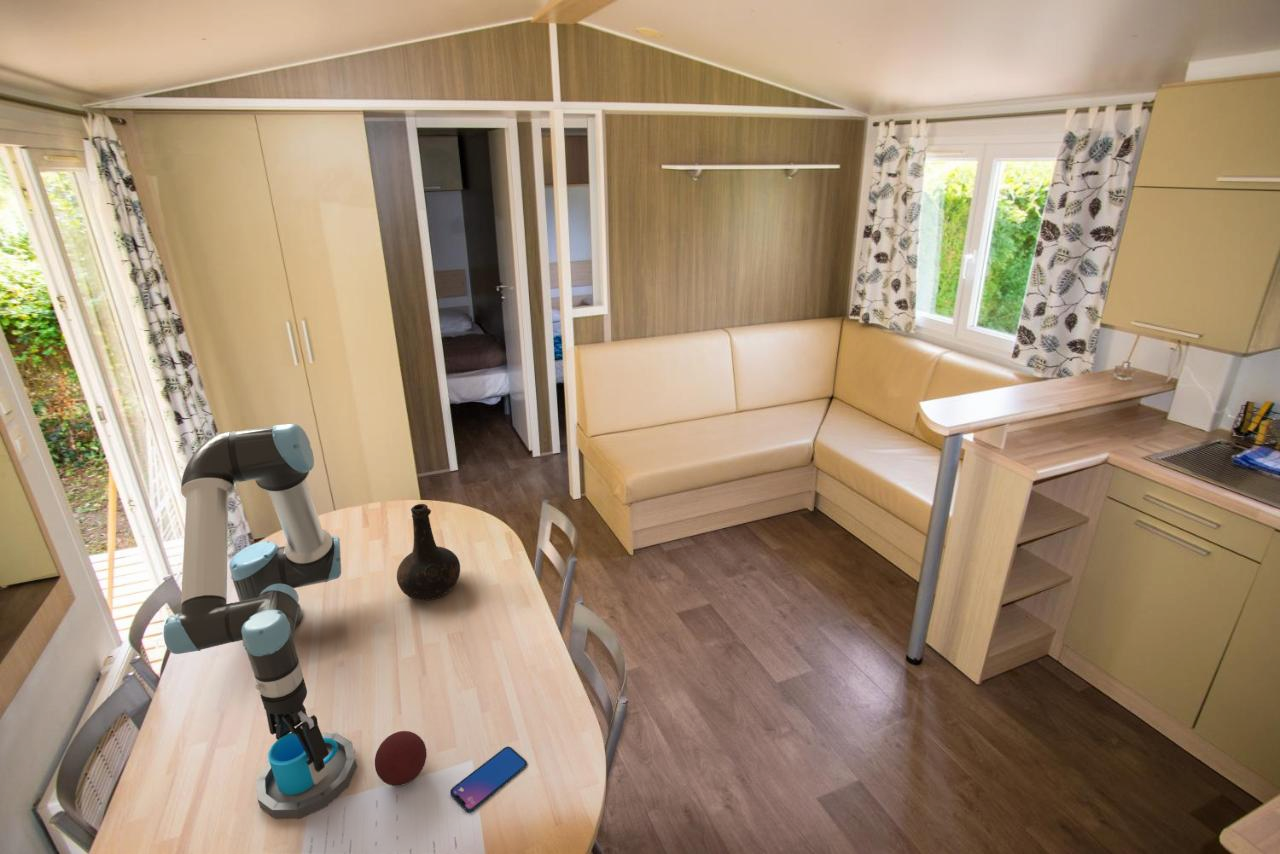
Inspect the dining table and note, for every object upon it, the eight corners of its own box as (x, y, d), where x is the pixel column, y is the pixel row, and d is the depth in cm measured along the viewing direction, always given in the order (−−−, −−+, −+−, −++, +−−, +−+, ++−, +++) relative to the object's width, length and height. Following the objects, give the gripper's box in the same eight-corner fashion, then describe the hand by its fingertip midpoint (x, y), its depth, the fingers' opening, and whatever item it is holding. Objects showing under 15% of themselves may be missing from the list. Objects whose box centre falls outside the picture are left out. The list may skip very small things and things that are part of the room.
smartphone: (529, 763, 136) (468, 813, 125) (529, 766, 136) (469, 816, 126) (508, 744, 140) (447, 790, 130) (508, 747, 140) (448, 793, 130)
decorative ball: (380, 804, 128) (371, 768, 124) (377, 764, 136) (369, 729, 132) (432, 786, 131) (425, 750, 127) (426, 748, 140) (420, 713, 136)
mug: (279, 802, 126) (270, 772, 123) (275, 771, 133) (265, 742, 130) (345, 772, 132) (337, 743, 129) (337, 744, 139) (330, 716, 136)
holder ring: (240, 793, 130) (237, 784, 129) (319, 729, 145) (317, 721, 144) (296, 834, 122) (293, 825, 121) (374, 762, 137) (372, 754, 136)
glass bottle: (405, 616, 180) (389, 530, 170) (396, 582, 195) (380, 501, 184) (469, 597, 188) (457, 514, 177) (455, 566, 203) (443, 487, 192)
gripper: (230, 678, 126) (258, 762, 135) (298, 719, 116) (323, 807, 125) (267, 654, 132) (292, 736, 141) (334, 691, 122) (356, 777, 131)
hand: (306, 769), depth 133 cm, fingers closed on mug, 8 cm apart
